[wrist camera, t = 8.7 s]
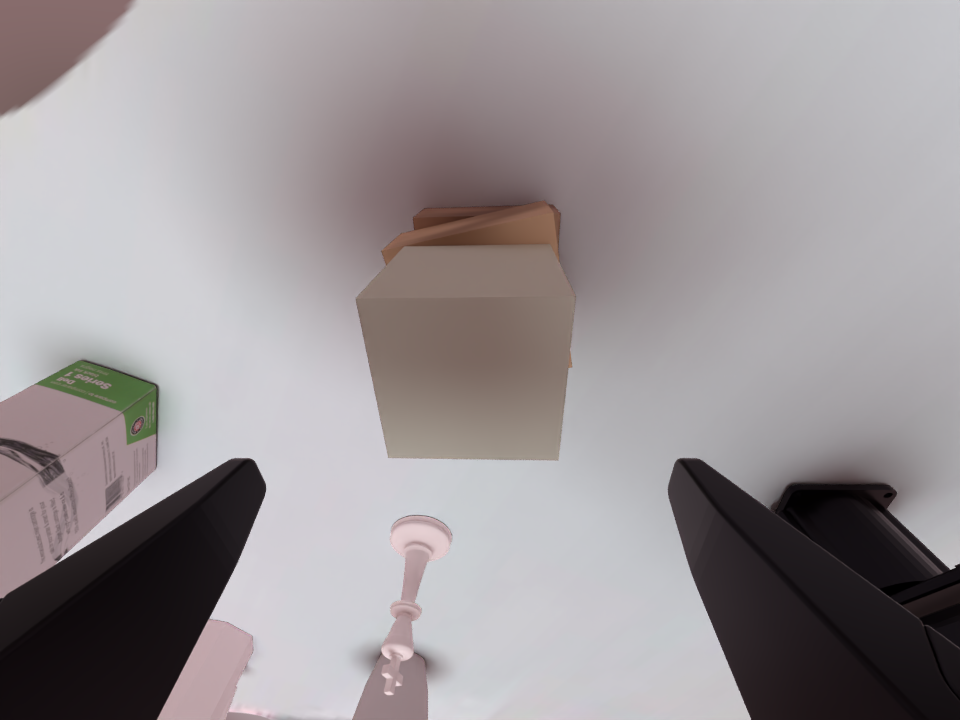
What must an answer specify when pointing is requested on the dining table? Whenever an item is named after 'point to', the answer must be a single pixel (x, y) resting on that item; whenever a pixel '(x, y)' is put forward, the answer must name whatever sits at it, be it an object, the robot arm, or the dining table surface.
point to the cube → (470, 351)
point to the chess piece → (410, 586)
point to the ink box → (68, 462)
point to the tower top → (486, 231)
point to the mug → (210, 674)
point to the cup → (395, 693)
